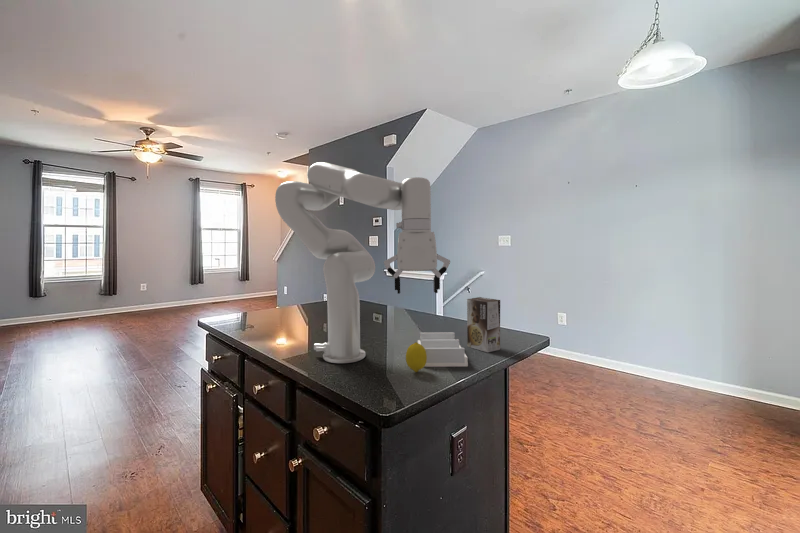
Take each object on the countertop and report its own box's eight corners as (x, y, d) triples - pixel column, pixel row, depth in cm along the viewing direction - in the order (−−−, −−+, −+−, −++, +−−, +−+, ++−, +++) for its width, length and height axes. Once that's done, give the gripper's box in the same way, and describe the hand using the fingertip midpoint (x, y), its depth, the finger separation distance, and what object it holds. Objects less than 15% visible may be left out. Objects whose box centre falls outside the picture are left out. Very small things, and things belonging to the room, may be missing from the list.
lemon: (425, 376, 92) (425, 345, 91) (404, 375, 93) (403, 344, 93) (427, 369, 97) (427, 340, 97) (407, 367, 98) (407, 339, 98)
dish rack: (420, 366, 99) (420, 348, 99) (417, 347, 118) (417, 332, 118) (467, 366, 99) (467, 348, 99) (456, 347, 118) (456, 332, 118)
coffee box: (500, 349, 115) (501, 299, 114) (487, 353, 112) (487, 301, 111) (479, 343, 123) (480, 296, 122) (466, 346, 119) (466, 298, 118)
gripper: (382, 226, 89) (383, 295, 90) (451, 225, 89) (452, 294, 90) (383, 228, 97) (384, 291, 97) (447, 227, 97) (448, 290, 98)
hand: (417, 292), depth 94 cm, fingers open, 9 cm apart
